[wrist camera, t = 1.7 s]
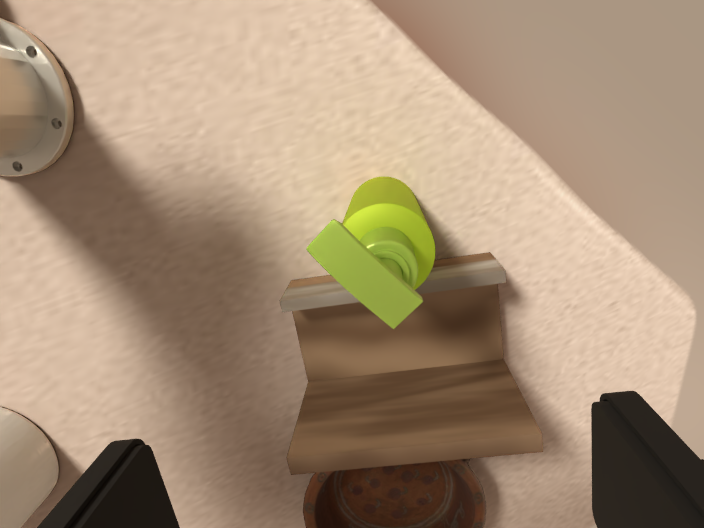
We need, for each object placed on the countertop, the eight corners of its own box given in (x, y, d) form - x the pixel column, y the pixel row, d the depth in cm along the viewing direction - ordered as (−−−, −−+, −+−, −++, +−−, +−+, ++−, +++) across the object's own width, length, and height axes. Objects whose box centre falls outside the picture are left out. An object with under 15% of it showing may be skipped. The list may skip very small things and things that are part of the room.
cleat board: (291, 280, 41) (256, 341, 29) (490, 252, 39) (535, 306, 27) (314, 383, 44) (290, 474, 33) (498, 362, 42) (543, 451, 31)
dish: (270, 502, 49) (258, 542, 45) (384, 360, 43) (385, 389, 38) (397, 574, 51) (399, 621, 47) (524, 449, 45) (541, 488, 40)
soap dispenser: (373, 153, 37) (365, 185, 18) (431, 209, 38) (482, 296, 19) (327, 204, 38) (274, 284, 19) (384, 256, 40) (387, 380, 21)
